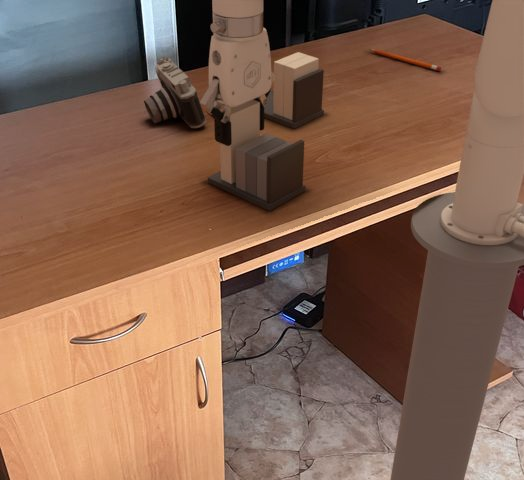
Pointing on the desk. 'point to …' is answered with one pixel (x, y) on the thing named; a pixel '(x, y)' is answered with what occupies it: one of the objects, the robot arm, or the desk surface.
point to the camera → (174, 96)
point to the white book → (239, 136)
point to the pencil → (406, 59)
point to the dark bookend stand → (295, 91)
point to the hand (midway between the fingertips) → (239, 134)
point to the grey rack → (266, 171)
